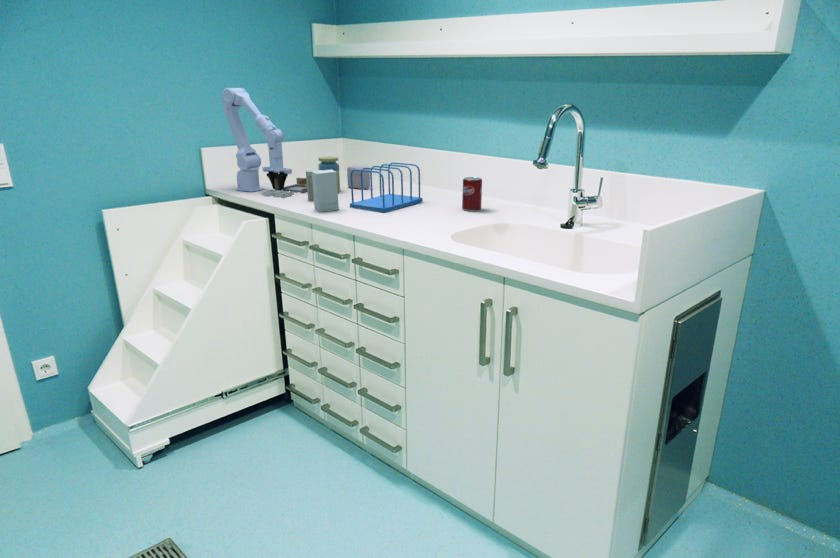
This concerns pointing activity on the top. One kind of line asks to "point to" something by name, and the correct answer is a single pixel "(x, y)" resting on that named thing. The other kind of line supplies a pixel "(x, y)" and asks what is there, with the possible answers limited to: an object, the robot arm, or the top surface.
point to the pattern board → (295, 188)
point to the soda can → (472, 194)
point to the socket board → (277, 193)
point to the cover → (301, 181)
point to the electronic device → (358, 177)
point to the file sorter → (383, 201)
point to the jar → (330, 166)
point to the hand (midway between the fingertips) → (278, 189)
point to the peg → (276, 184)
